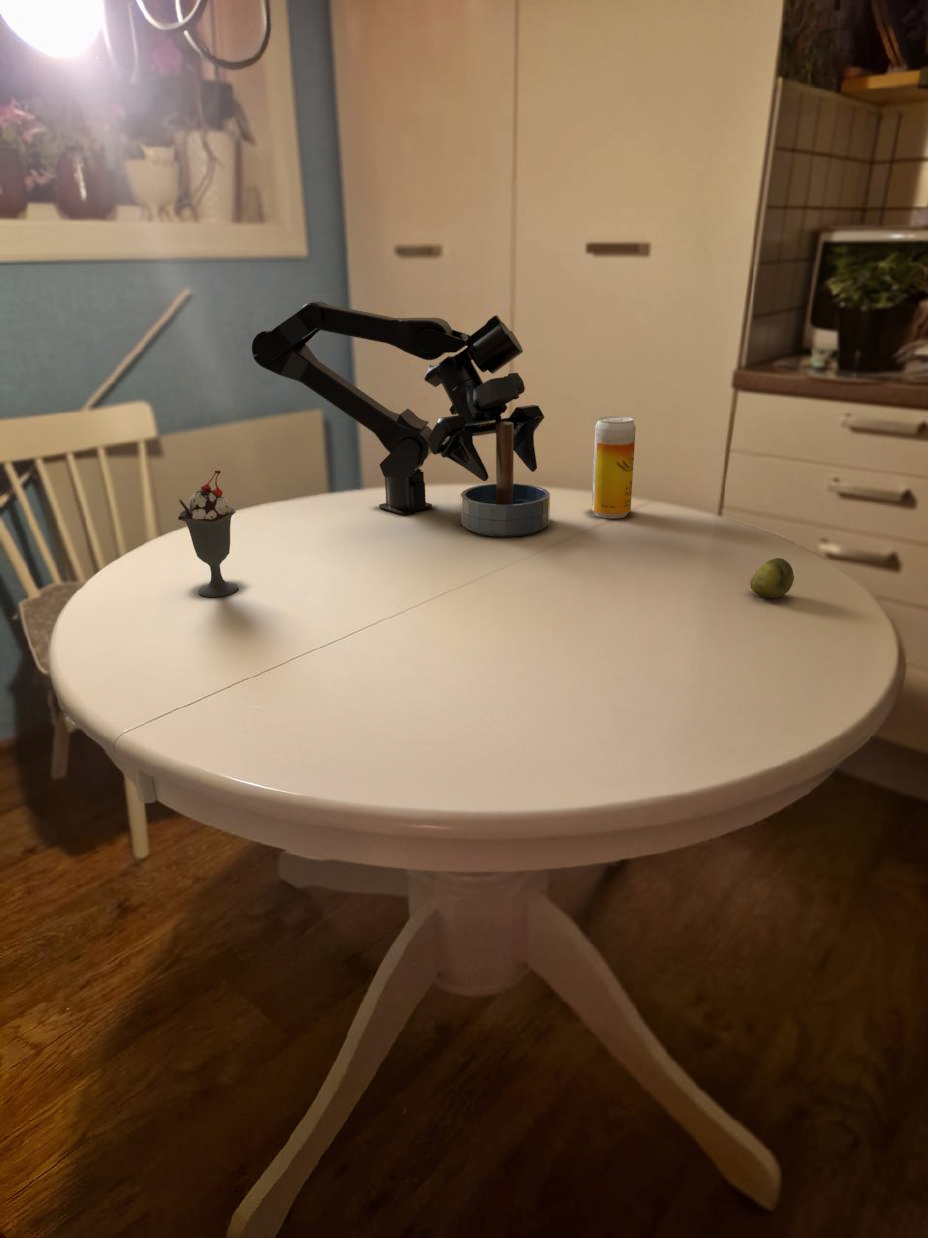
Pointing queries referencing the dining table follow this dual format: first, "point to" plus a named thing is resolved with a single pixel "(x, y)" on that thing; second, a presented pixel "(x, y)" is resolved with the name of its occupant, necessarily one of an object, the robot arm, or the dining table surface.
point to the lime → (773, 578)
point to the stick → (504, 462)
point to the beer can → (613, 466)
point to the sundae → (210, 534)
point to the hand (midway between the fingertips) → (511, 474)
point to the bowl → (505, 510)
